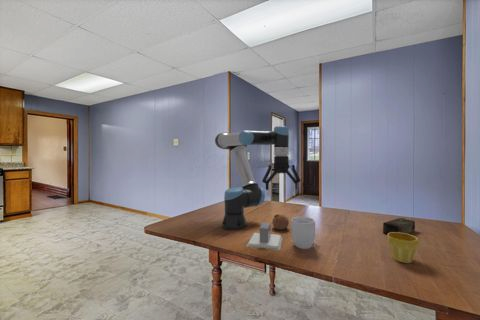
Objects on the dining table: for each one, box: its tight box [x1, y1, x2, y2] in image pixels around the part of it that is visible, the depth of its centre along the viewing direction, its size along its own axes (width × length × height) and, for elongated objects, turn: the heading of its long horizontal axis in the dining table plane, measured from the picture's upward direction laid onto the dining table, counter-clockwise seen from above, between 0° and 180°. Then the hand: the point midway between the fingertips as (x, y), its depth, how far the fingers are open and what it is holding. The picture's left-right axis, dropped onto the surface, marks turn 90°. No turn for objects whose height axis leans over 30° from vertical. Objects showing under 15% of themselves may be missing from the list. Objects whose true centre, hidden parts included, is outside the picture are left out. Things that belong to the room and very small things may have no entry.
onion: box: [272, 213, 290, 231], centre depth 128 cm, size 10×9×10 cm
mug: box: [290, 216, 316, 250], centre depth 106 cm, size 15×11×13 cm
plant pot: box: [386, 232, 419, 264], centre depth 91 cm, size 10×10×10 cm
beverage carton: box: [382, 217, 416, 235], centre depth 121 cm, size 8×19×7 cm, turn 120°
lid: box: [248, 221, 282, 250], centre depth 111 cm, size 14×14×8 cm
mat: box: [246, 233, 283, 251], centre depth 111 cm, size 16×16×1 cm
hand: (281, 195), depth 117 cm, fingers open, 13 cm apart
